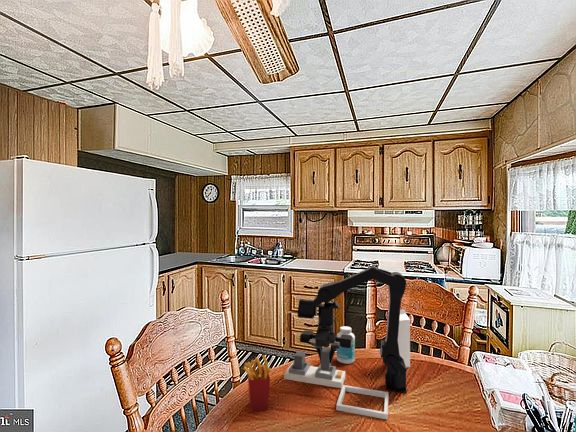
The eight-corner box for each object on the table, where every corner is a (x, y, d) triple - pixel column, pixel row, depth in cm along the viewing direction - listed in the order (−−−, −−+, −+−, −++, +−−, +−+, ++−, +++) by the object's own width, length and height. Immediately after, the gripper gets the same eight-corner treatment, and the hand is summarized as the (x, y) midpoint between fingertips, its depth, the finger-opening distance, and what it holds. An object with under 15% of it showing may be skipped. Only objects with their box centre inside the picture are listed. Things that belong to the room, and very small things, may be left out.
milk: (410, 367, 130) (410, 311, 130) (396, 369, 128) (397, 312, 128) (400, 360, 136) (401, 307, 136) (388, 362, 134) (388, 308, 134)
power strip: (345, 376, 122) (345, 367, 122) (341, 388, 113) (341, 378, 113) (291, 368, 129) (291, 359, 129) (284, 378, 120) (284, 369, 120)
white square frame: (388, 396, 108) (388, 392, 108) (387, 419, 96) (387, 414, 96) (342, 389, 113) (342, 384, 113) (336, 410, 100) (336, 405, 100)
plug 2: (331, 364, 121) (331, 348, 121) (328, 369, 117) (328, 352, 117) (323, 363, 122) (323, 347, 122) (320, 368, 118) (320, 351, 118)
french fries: (270, 411, 99) (271, 361, 100) (243, 414, 98) (243, 364, 98) (266, 396, 108) (266, 350, 108) (241, 399, 106) (241, 352, 107)
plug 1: (305, 367, 125) (305, 352, 125) (301, 373, 120) (301, 356, 120) (297, 366, 125) (297, 350, 126) (294, 371, 121) (294, 355, 121)
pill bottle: (356, 364, 132) (356, 331, 132) (337, 364, 132) (338, 330, 132) (353, 357, 139) (353, 325, 140) (335, 356, 140) (335, 324, 140)
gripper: (295, 323, 115) (295, 368, 115) (348, 329, 109) (348, 376, 109) (303, 314, 126) (303, 355, 126) (353, 319, 120) (353, 362, 120)
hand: (326, 362), depth 120 cm, fingers closed on plug 2, 3 cm apart
